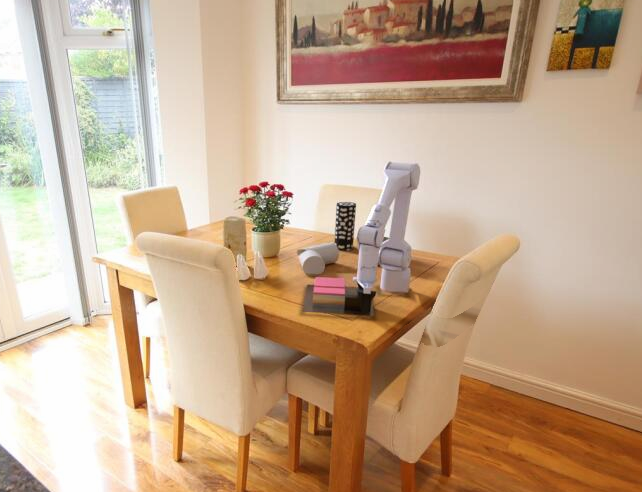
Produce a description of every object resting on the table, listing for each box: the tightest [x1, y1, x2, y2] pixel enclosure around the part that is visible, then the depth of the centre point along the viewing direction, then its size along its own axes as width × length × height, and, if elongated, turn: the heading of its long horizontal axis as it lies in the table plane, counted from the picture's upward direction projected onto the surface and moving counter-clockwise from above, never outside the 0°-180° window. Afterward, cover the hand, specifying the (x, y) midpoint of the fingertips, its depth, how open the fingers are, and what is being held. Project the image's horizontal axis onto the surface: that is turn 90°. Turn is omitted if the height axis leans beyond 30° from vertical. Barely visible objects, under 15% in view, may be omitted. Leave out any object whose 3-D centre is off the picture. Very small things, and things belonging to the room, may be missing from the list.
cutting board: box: [301, 284, 375, 317], centre depth 153 cm, size 22×23×1 cm
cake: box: [313, 276, 346, 289], centre depth 157 cm, size 10×8×4 cm
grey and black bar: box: [313, 294, 371, 312], centre depth 145 cm, size 18×2×4 cm, turn 78°
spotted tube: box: [333, 201, 357, 252], centre depth 204 cm, size 8×8×20 cm
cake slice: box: [313, 287, 345, 300], centre depth 151 cm, size 10×4×4 cm, turn 78°
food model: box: [222, 216, 248, 265], centre depth 187 cm, size 10×7×20 cm
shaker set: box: [236, 250, 269, 281], centre depth 173 cm, size 12×4×11 cm, turn 85°
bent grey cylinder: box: [296, 241, 340, 275], centre depth 183 cm, size 18×10×20 cm
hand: (364, 306), depth 144 cm, fingers open, 7 cm apart
